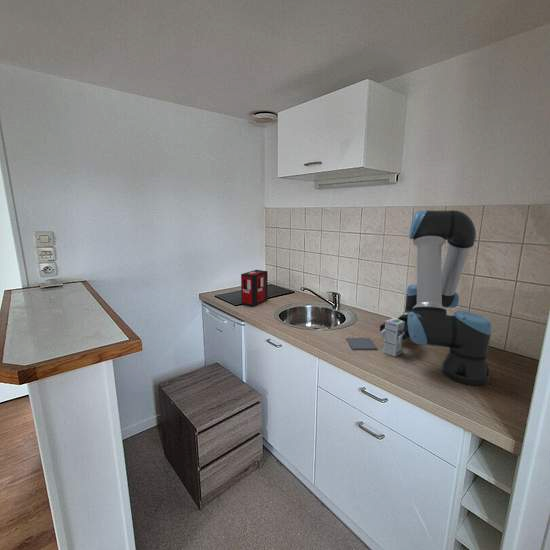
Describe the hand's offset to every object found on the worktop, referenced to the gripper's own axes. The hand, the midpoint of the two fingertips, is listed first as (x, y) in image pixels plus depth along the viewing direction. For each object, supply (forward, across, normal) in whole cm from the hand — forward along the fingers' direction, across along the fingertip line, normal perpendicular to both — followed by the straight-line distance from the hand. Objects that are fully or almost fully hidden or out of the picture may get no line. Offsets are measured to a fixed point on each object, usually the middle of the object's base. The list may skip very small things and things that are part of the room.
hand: (389, 337), depth 126 cm
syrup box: (-5, 0, -9) cm, 10 cm away
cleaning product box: (-20, +93, -9) cm, 96 cm away
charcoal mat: (-4, +14, -8) cm, 17 cm away
